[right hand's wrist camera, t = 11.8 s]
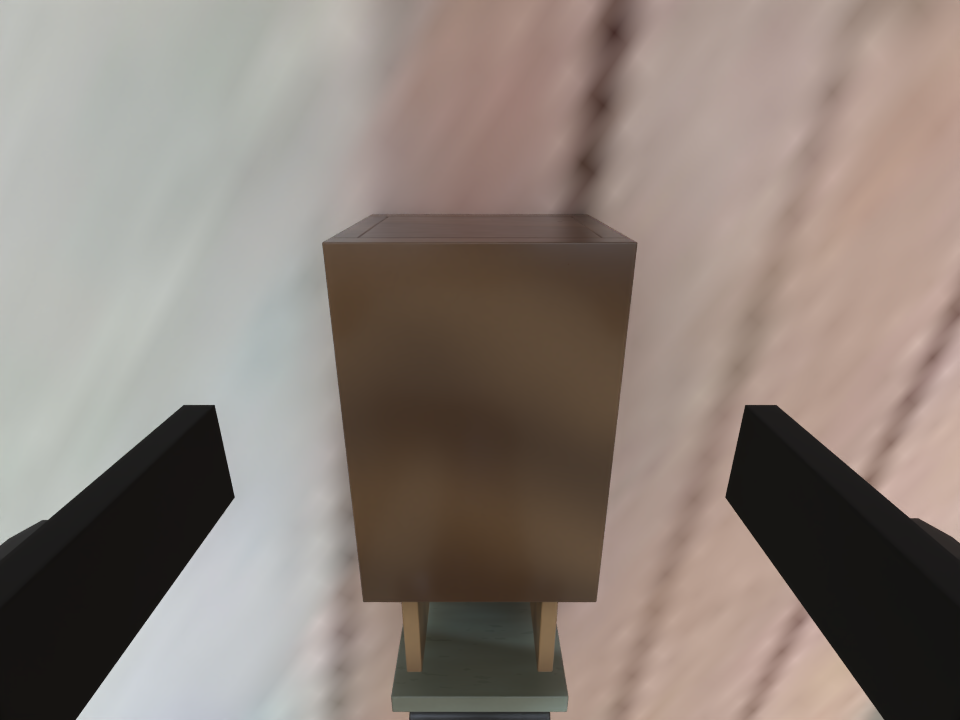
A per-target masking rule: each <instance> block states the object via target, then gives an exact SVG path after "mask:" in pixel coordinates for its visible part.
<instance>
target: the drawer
mask: <svg viewBox="0 0 960 720" xmlns="http://www.w3.org/2000/svg"><path fill="white" fill-rule="evenodd" d="M557 608H558V602H402V614H403V628H402V634H401V640H400V646H399V652H398V658H397V664H396V670H395V677H394V683H393V689H392V695H391V700H392V710H393V712H410V714H409V720H550V712H567V706H568V691H567V685H566V679H565V673H564V667H563V661H562V655H561V648H560V642H559V636H558V630H557V624H556V621H557Z"/></svg>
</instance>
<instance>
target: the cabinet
mask: <svg viewBox="0 0 960 720" xmlns="http://www.w3.org/2000/svg"><path fill="white" fill-rule="evenodd" d="M322 245H323V254H324V263H325V271H326V280H327V289H328V298H329V306H330V315H331V324H332V333H333V341H334V350H335V359H336V368H337V377H338V385H339V394H340V403H341V412H342V420H343V429H344V438H345V447H346V455H347V464H348V473H349V482H350V490H351V499H352V508H353V517H354V525H355V534H356V543H357V552H358V560H359V569H360V578H361V587H362V595H363V602H596V600H597V592H598V583H599V574H600V565H601V557H602V548H603V539H604V530H605V522H606V513H607V504H608V495H609V487H610V478H611V469H612V460H613V452H614V443H615V434H616V425H617V417H618V408H619V399H620V390H621V382H622V373H623V364H624V355H625V347H626V338H627V329H628V320H629V312H630V303H631V294H632V285H633V277H634V268H635V259H636V250H637V242H635V241H633V240H632V239H630V238H628V237H626V236H625V235H623V234H621V233H619V232H618V231H616V230H614V229H612V228H611V227H609V226H607V225H605V224H604V223H602V222H600V221H598V220H597V219H595V218H593V217H591V216H589V215H370V216H369V217H367V218H365V219H363V220H362V221H360V222H358V223H356V224H355V225H353V226H351V227H349V228H347V229H346V230H344V231H342V232H340V233H339V234H337V235H335V236H333V237H332V238H330V239H328V240H326V241H324V242H323V243H322Z"/></svg>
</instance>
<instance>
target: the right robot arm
mask: <svg viewBox="0 0 960 720" xmlns="http://www.w3.org/2000/svg"><path fill="white" fill-rule="evenodd" d="M234 498H235V497H234V492H233V487H232V483H231V478H230V474H229V469H228V464H227V460H226V455H225V451H224V446H223V441H222V437H221V432H220V428H219V423H218V418H217V414H216V409H215V405H183V406H182V407H181V408H180V409H179V410H177V411H176V412H175V413H174V414H173V415H171V416H170V417H169V418H168V419H167V420H166V421H164V422H163V423H162V424H161V425H160V426H158V427H157V428H156V429H155V430H154V431H153V432H151V433H150V434H149V435H148V436H147V437H145V438H144V439H143V440H142V441H141V442H140V443H138V444H137V445H136V446H135V447H134V448H133V449H131V450H130V451H129V452H128V453H127V454H125V455H124V456H123V457H122V458H121V459H120V460H118V461H117V462H116V463H115V464H114V465H112V466H111V467H110V468H109V469H108V470H107V471H105V472H104V473H103V474H102V475H101V476H99V477H98V478H97V479H96V480H95V481H94V482H92V483H91V484H90V485H89V486H88V487H86V488H85V489H84V490H83V491H82V492H81V493H79V494H78V495H77V496H76V497H75V498H73V499H72V500H71V501H70V502H69V503H68V504H66V505H65V506H64V507H63V508H62V509H61V510H59V511H58V512H57V513H56V514H55V515H53V516H52V517H51V518H50V519H49V520H42V521H40V522H38V523H36V524H35V525H33V526H31V527H29V528H27V529H26V530H24V531H22V532H20V533H18V534H17V535H15V536H13V537H11V538H9V539H8V540H7V541H5V542H4V543H3V544H2V545H1V546H0V720H76V719H77V717H78V716H79V714H80V713H81V712H82V710H83V709H84V707H85V706H86V705H87V703H88V702H89V700H90V699H91V698H92V696H93V695H94V693H95V692H96V691H97V689H98V688H99V686H100V685H101V684H102V682H103V681H104V679H105V678H106V677H107V675H108V674H109V672H110V671H111V670H112V668H113V667H114V665H115V664H116V663H117V661H118V660H119V658H120V657H121V656H122V654H123V653H124V651H125V650H126V649H127V647H128V646H129V644H130V643H131V642H132V640H133V639H134V637H135V636H136V635H137V633H138V632H139V630H140V629H141V628H142V626H143V625H144V623H145V622H146V621H147V619H148V618H149V616H150V615H151V614H152V612H153V611H154V609H155V608H156V607H157V605H158V604H159V602H160V601H161V600H162V598H163V597H164V595H165V594H166V593H167V591H168V590H169V589H170V587H171V586H172V584H173V583H174V582H175V580H176V579H177V577H178V576H179V575H180V573H181V572H182V570H183V569H184V568H185V566H186V565H187V563H188V562H189V561H190V559H191V558H192V556H193V555H194V554H195V552H196V551H197V549H198V548H199V547H200V545H201V544H202V542H203V541H204V540H205V538H206V537H207V535H208V534H209V533H210V531H211V530H212V528H213V527H214V526H215V524H216V523H217V521H218V520H219V519H220V517H221V516H222V514H223V513H224V512H225V510H226V509H227V507H228V506H229V505H230V503H231V502H232V500H233V499H234ZM725 498H726V499H727V500H728V502H729V503H730V505H731V506H732V507H733V509H734V510H735V512H736V513H737V514H738V516H739V517H740V519H741V520H742V521H743V523H744V524H745V526H746V527H747V528H748V530H749V531H750V533H751V534H752V535H753V537H754V538H755V540H756V541H757V542H758V544H759V545H760V547H761V548H762V549H763V551H764V552H765V554H766V555H767V556H768V558H769V559H770V561H771V562H772V563H773V565H774V566H775V568H776V569H777V570H778V572H779V573H780V575H781V576H782V577H783V579H784V580H785V582H786V583H787V584H788V586H789V587H790V589H791V590H792V591H793V593H794V594H795V595H796V597H797V598H798V600H799V601H800V602H801V604H802V605H803V607H804V608H805V609H806V611H807V612H808V614H809V615H810V616H811V618H812V619H813V621H814V622H815V623H816V625H817V626H818V628H819V629H820V630H821V632H822V633H823V635H824V636H825V637H826V639H827V640H828V642H829V643H830V644H831V646H832V647H833V649H834V650H835V651H836V653H837V654H838V656H839V657H840V658H841V660H842V661H843V663H844V664H845V665H846V667H847V668H848V670H849V671H850V672H851V674H852V675H853V677H854V678H855V679H856V681H857V682H858V684H859V685H860V686H861V688H862V689H863V691H864V692H865V693H866V695H867V696H868V698H869V699H870V700H871V702H872V703H873V705H874V706H875V707H876V709H877V710H878V712H879V713H880V714H881V716H882V717H883V719H884V720H960V543H959V542H958V541H956V540H955V539H954V538H953V537H951V536H949V535H947V534H946V533H944V532H942V531H940V530H938V529H937V528H935V527H933V526H931V525H929V524H928V523H926V522H924V521H922V520H920V519H919V518H909V517H908V516H907V515H905V514H904V513H903V512H902V511H901V510H899V509H898V508H897V507H896V506H895V505H894V504H892V503H891V502H890V501H889V500H888V499H887V498H885V497H884V496H883V495H882V494H881V493H879V492H878V491H877V490H876V489H875V488H874V487H872V486H871V485H870V484H869V483H868V482H866V481H865V480H864V479H863V478H862V477H861V476H859V475H858V474H857V473H856V472H855V471H853V470H852V469H851V468H850V467H849V466H848V465H846V464H845V463H844V462H843V461H842V460H840V459H839V458H838V457H837V456H836V455H835V454H833V453H832V452H831V451H830V450H829V449H827V448H826V447H825V446H824V445H823V444H822V443H820V442H819V441H818V440H817V439H816V438H815V437H813V436H812V435H811V434H810V433H809V432H807V431H806V430H805V429H804V428H803V427H802V426H800V425H799V424H798V423H797V422H796V421H794V420H793V419H792V418H791V417H790V416H789V415H787V414H786V413H785V412H784V411H783V410H781V409H780V408H779V407H778V406H777V405H745V409H744V414H743V418H742V423H741V428H740V432H739V437H738V441H737V446H736V451H735V455H734V460H733V464H732V469H731V474H730V478H729V483H728V487H727V492H726V497H725Z"/></svg>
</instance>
